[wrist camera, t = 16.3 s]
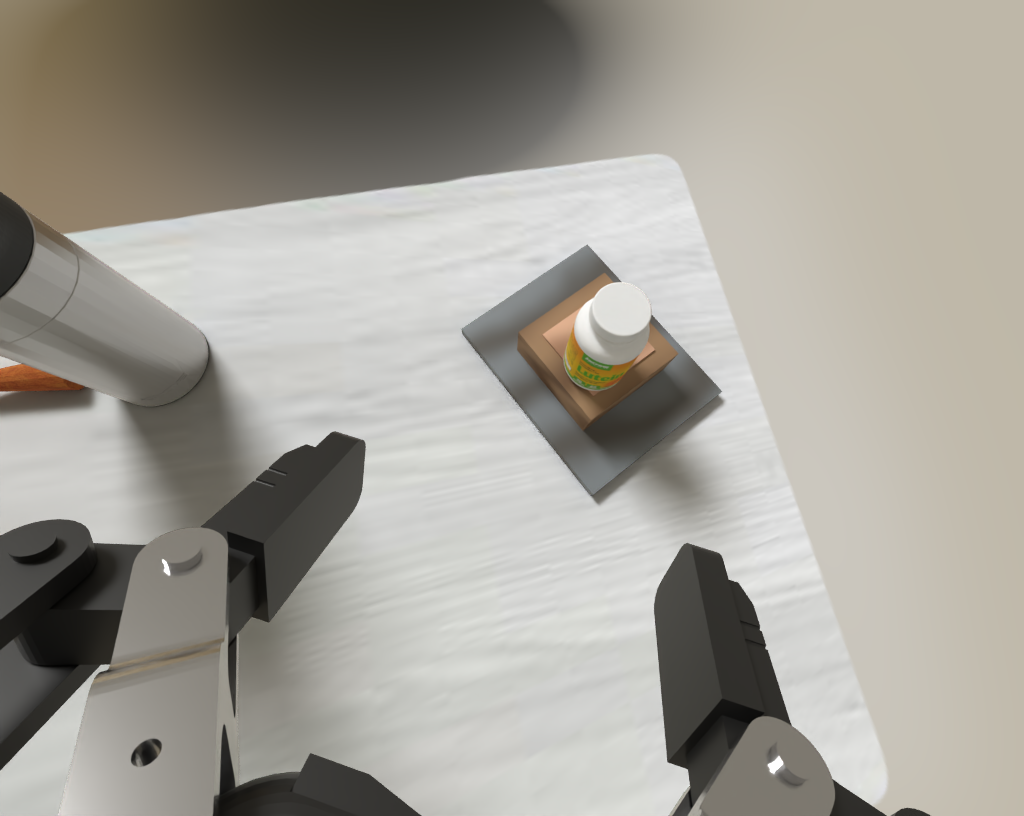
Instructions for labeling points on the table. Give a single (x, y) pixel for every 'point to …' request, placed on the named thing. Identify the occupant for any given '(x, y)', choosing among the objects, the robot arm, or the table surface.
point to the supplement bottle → (608, 336)
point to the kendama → (32, 380)
